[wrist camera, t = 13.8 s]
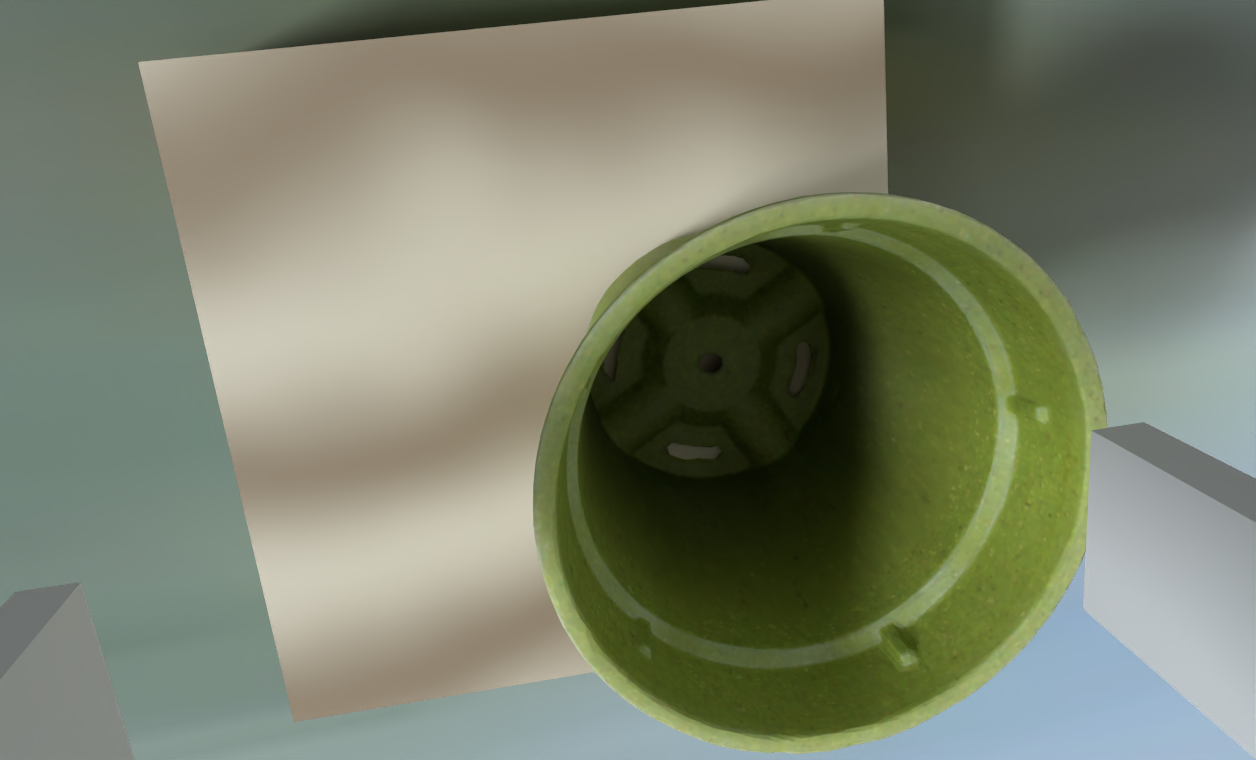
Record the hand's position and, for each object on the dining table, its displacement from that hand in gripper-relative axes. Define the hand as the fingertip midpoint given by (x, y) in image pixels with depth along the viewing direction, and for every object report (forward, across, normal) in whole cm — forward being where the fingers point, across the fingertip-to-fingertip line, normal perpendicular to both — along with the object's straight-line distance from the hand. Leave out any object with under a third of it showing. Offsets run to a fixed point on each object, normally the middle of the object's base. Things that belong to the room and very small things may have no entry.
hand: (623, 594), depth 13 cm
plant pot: (+11, +4, 0) cm, 12 cm away
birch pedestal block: (+16, 0, 0) cm, 16 cm away
